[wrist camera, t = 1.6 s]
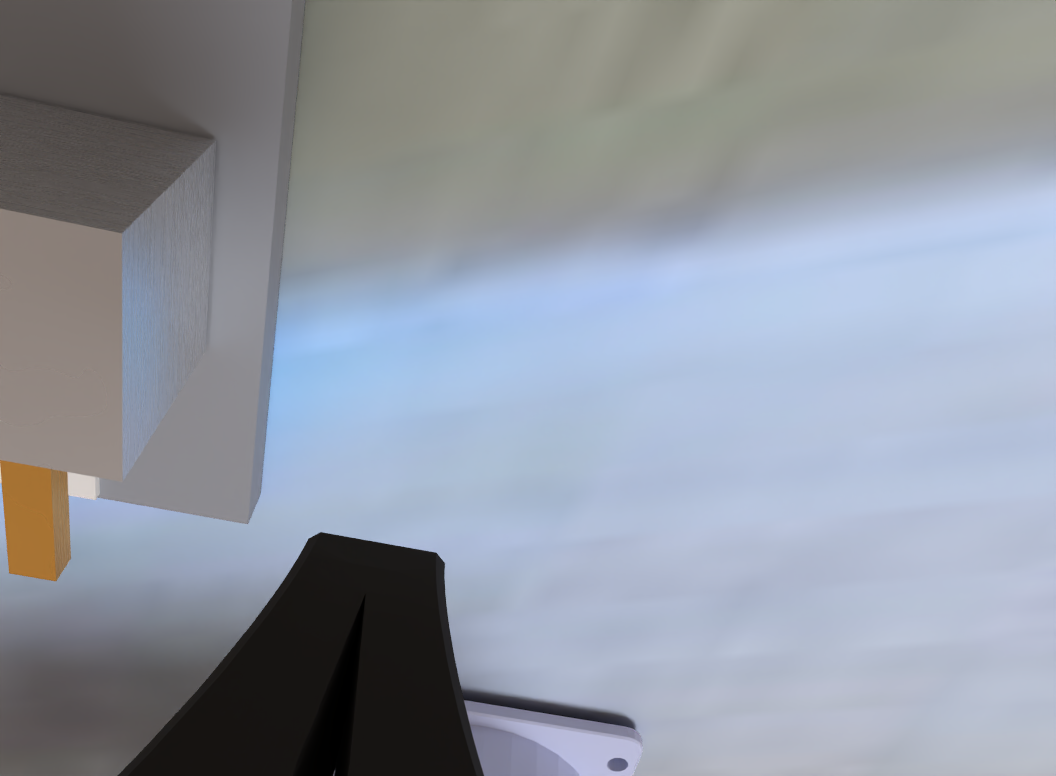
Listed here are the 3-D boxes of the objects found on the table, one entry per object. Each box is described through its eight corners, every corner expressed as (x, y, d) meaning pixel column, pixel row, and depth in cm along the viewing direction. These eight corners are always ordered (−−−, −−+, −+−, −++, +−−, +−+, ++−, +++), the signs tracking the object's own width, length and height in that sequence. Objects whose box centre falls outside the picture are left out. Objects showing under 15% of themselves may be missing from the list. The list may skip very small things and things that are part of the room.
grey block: (198, 499, 19) (123, 647, 16) (-6, 462, 19) (-129, 606, 16) (215, 140, 16) (121, 232, 12) (-39, 85, 15) (-210, 166, 12)
